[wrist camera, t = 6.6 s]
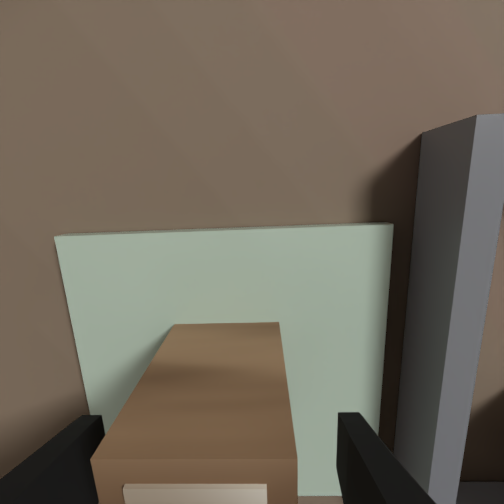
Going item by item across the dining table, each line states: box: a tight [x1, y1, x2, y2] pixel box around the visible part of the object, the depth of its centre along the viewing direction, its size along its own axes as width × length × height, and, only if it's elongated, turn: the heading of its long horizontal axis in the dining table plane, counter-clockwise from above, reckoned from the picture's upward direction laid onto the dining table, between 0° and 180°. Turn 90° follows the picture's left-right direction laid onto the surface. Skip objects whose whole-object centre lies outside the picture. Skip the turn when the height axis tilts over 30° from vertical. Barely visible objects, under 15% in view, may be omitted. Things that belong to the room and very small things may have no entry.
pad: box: [54, 222, 394, 496], centre depth 12 cm, size 12×12×1 cm
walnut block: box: [90, 322, 298, 504], centre depth 8 cm, size 4×4×6 cm
